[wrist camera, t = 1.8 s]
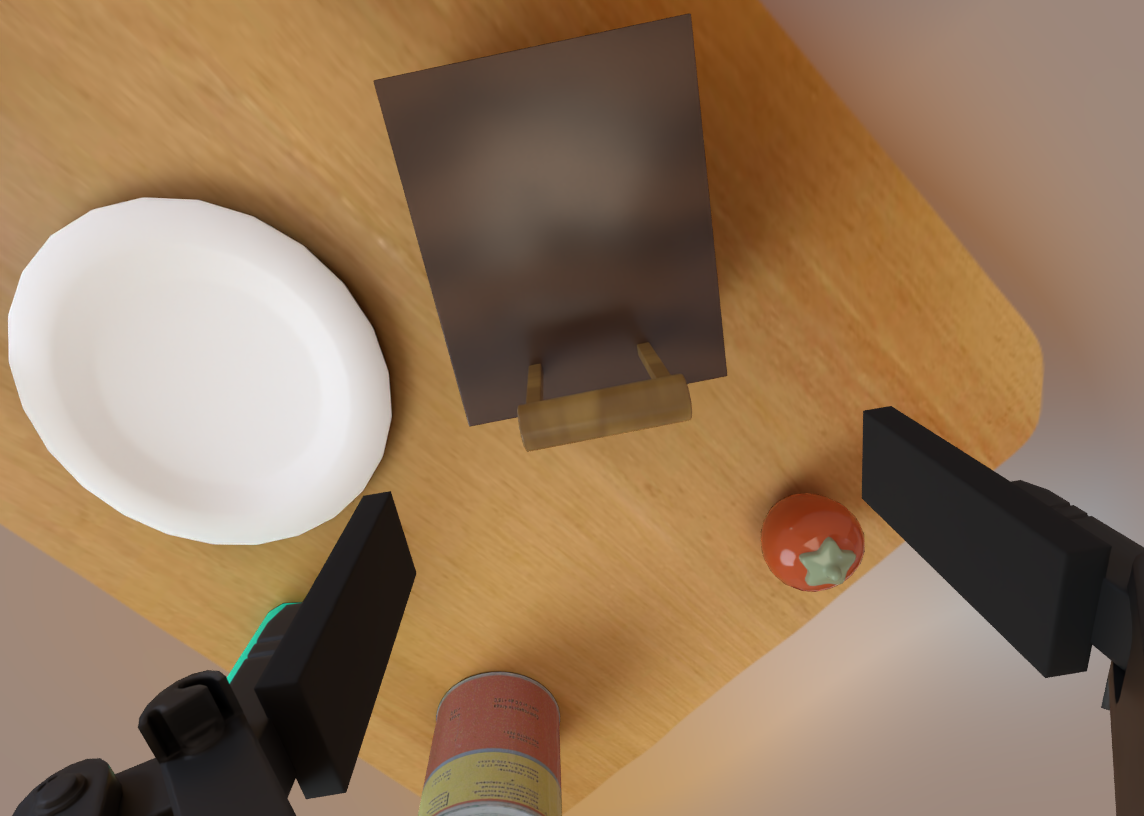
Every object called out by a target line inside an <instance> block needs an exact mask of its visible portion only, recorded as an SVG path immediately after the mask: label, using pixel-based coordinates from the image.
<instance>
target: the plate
mask: <svg viewBox="0 0 1144 816" xmlns="http://www.w3.org/2000/svg"><path fill="white" fill-rule="evenodd" d="M8 340H9V365H10V368H11V371H12V374H13V378H14V381H15V384H16V387H17V391H18V394H19V397H20V400H21V404H22V407H23V409H24V411H25V413H26V414H27V416H28V417H29V419H30V421H31V422H32V424H33V426H34V427H35V429H36V431H37V432H38V434H39V436H40V437H41V439H42V441H43V442H44V444H45V446H46V447H47V449H48V451H49V452H50V453H51V454H52V455H53V456H54V457H55V458H56V459H57V460H58V461H59V462H60V463H61V464H62V465H63V466H64V467H65V468H66V469H67V470H68V471H69V473H70V474H71V475H72V476H73V477H74V478H75V479H76V480H77V481H78V482H79V483H80V484H81V485H82V486H83V487H84V488H86V489H87V490H89V491H90V492H91V493H93V494H94V495H96V496H97V497H99V498H100V499H101V500H103V501H104V502H106V503H107V504H109V505H110V506H112V507H113V508H114V509H116V510H117V511H119V512H120V513H122V514H123V515H125V516H127V517H130V518H132V519H134V520H136V521H139V522H141V523H143V524H146V525H148V526H150V527H152V528H155V529H157V530H159V531H161V532H164V533H166V534H169V535H173V536H178V537H183V538H187V539H192V540H196V541H201V542H205V543H210V544H238V545H258V544H263V543H267V542H272V541H276V540H281V539H286V538H290V537H295V536H299V535H301V534H303V533H305V532H307V531H309V530H311V529H313V528H315V527H317V526H319V525H320V524H322V523H324V522H326V521H328V520H330V519H332V518H334V517H335V516H336V515H338V514H339V513H340V512H341V511H342V510H343V509H344V508H345V507H346V506H347V505H348V504H349V503H351V502H352V501H353V500H354V499H355V498H356V497H357V496H358V495H359V494H360V493H361V492H362V491H363V490H364V488H365V487H366V485H367V483H368V481H369V480H370V478H371V476H372V475H373V473H374V471H375V469H376V468H377V466H378V464H379V462H380V461H381V459H382V457H383V455H384V450H385V446H386V441H387V437H388V432H389V428H390V423H391V419H392V405H391V391H390V376H389V370H388V367H387V364H386V361H385V359H384V356H383V353H382V350H381V347H380V344H379V341H378V339H377V336H376V333H375V330H374V327H373V325H372V324H371V322H370V321H369V319H368V318H367V316H366V315H365V313H364V312H363V310H362V309H361V307H360V306H359V304H358V303H357V301H356V300H355V298H354V297H353V295H352V294H351V292H350V291H349V289H348V288H347V286H346V285H345V283H344V282H343V281H342V280H341V279H339V278H338V277H337V276H336V275H335V274H334V273H333V272H332V271H331V270H330V269H329V268H328V267H327V266H326V265H325V264H324V263H322V262H321V261H320V260H319V259H318V258H317V257H316V256H315V255H314V254H313V253H312V252H311V251H310V250H309V249H308V248H306V247H305V246H304V245H303V244H301V243H299V242H298V241H296V240H294V239H292V238H291V237H289V236H287V235H286V234H284V233H282V232H280V231H279V230H277V229H275V228H274V227H272V226H270V225H268V224H267V223H265V222H263V221H262V220H260V219H258V218H256V217H255V216H251V215H248V214H245V213H241V212H238V211H235V210H232V209H228V208H225V207H222V206H218V205H215V204H212V203H208V202H205V201H202V200H192V199H168V198H145V197H142V198H138V199H134V200H130V201H126V202H122V203H118V204H114V205H110V206H105V207H101V208H97V209H93V210H91V211H89V212H88V213H86V214H85V215H83V216H81V217H80V218H78V219H77V220H75V221H73V222H72V223H70V224H69V225H67V226H65V227H64V228H62V229H61V230H59V231H57V232H56V233H54V234H52V235H51V236H50V237H49V239H48V240H47V241H46V242H45V244H44V245H43V246H42V247H41V249H40V250H39V251H38V253H37V254H36V255H35V256H34V258H33V259H32V260H31V262H30V263H29V264H28V265H27V267H26V268H25V269H24V270H23V272H22V274H21V277H20V281H19V284H18V287H17V290H16V293H15V296H14V299H13V302H12V305H11V308H10V312H9V315H8Z"/></svg>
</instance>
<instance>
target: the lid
mask: <svg viewBox="0 0 1144 816" xmlns="http://www.w3.org/2000/svg"><path fill="white" fill-rule="evenodd" d="M374 85H375V89H376V92H377V96H378V99H379V103H380V107H381V110H382V114H383V118H384V121H385V125H386V128H387V132H388V136H389V139H390V143H391V146H392V150H393V154H394V157H395V161H396V164H397V168H398V172H399V175H400V179H401V182H402V186H403V190H404V193H405V197H406V200H407V204H408V208H409V211H410V215H411V218H412V222H413V226H414V229H415V233H416V236H417V240H418V244H419V247H420V251H421V254H422V258H423V262H424V265H425V269H426V272H427V276H428V280H429V283H430V287H431V291H432V294H433V298H434V301H435V305H436V309H437V312H438V316H439V319H440V323H441V327H442V330H443V334H444V337H445V341H446V345H447V348H448V352H449V355H450V359H451V363H452V366H453V370H454V373H455V377H456V381H457V384H458V388H459V391H460V395H461V399H462V402H463V406H464V409H465V413H466V417H467V420H468V424H469V426H475V425H480V424H485V423H490V422H495V421H500V420H505V419H510V418H516V417H518V422H519V427H520V433H521V437H522V441H523V444H524V447H525V449H526V451H527V452H529V451H535V450H540V449H545V448H550V447H555V446H560V445H565V444H571V443H576V442H581V441H586V440H591V439H596V438H601V437H606V436H612V435H617V434H622V433H627V432H632V431H637V430H642V429H648V428H653V427H658V426H663V425H668V424H673V423H678V422H684V421H689V420H691V418H692V406H691V399H690V394H689V390H688V386H687V384H689V383H694V382H699V381H704V380H709V379H714V378H719V377H724V376H727V368H726V358H725V348H724V338H723V328H722V318H721V308H720V298H719V288H718V279H717V269H716V259H715V249H714V239H713V229H712V219H711V209H710V199H709V189H708V179H707V169H706V160H705V150H704V140H703V130H702V120H701V110H700V100H699V90H698V80H697V70H696V60H695V50H694V41H693V31H692V21H691V14H690V13H689V14H685V15H680V16H675V17H670V18H666V19H661V20H656V21H652V22H647V23H642V24H637V25H633V26H628V27H623V28H618V29H614V30H609V31H604V32H600V33H595V34H590V35H585V36H581V37H576V38H571V39H567V40H562V41H557V42H552V43H548V44H543V45H538V46H534V47H529V48H524V49H519V50H515V51H510V52H505V53H501V54H496V55H491V56H486V57H482V58H477V59H472V60H467V61H463V62H458V63H453V64H449V65H444V66H439V67H434V68H430V69H425V70H420V71H416V72H411V73H406V74H401V75H397V76H392V77H387V78H383V79H378V80H374Z"/></svg>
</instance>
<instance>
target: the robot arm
mask: <svg viewBox="0 0 1144 816" xmlns="http://www.w3.org/2000/svg"><path fill="white" fill-rule="evenodd" d="M862 499H863V500H864V501H865V502H866V503H867V504H868V505H869V506H870V507H871V508H872V509H873V510H874V511H875V512H876V513H877V514H878V515H879V516H881V517H882V518H883V519H884V520H885V521H886V522H887V523H888V524H889V525H890V526H891V527H892V528H893V529H894V530H895V531H896V532H897V533H898V534H899V535H900V536H901V537H902V538H903V539H904V540H905V541H906V542H907V543H908V544H909V545H910V546H911V547H912V548H913V549H914V550H915V551H916V552H918V554H919V555H920V556H921V557H922V558H924V560H926V562H928V563H929V564H930V565H931V566H932V567H933V568H934V569H935V570H936V571H937V572H938V573H939V574H940V575H941V576H942V577H943V578H944V579H945V580H946V581H947V582H948V583H949V584H950V585H951V586H952V587H953V588H954V589H955V590H956V591H957V592H958V593H959V594H960V595H961V596H962V597H963V598H964V599H965V600H966V601H967V602H968V603H969V604H970V605H971V606H972V607H973V608H975V610H976V611H978V612H979V613H980V614H981V615H982V616H983V617H984V618H985V619H986V620H987V621H988V622H989V623H990V624H991V625H992V626H993V627H994V628H995V629H996V630H997V631H998V632H999V633H1000V634H1001V635H1002V636H1003V637H1004V638H1005V639H1006V640H1007V641H1008V642H1009V643H1010V644H1011V645H1012V646H1013V647H1014V648H1015V649H1016V650H1017V651H1018V652H1019V653H1020V654H1022V656H1023V657H1024V658H1025V659H1027V660H1028V661H1029V662H1030V663H1031V664H1032V665H1033V666H1034V667H1035V668H1036V669H1037V670H1038V671H1039V672H1040V673H1041V674H1042V675H1043V676H1044V677H1045V678H1048V677H1054V676H1060V675H1066V674H1073V673H1079V672H1084V671H1087V668H1088V663H1089V658H1090V652H1091V648H1092V645H1094V646H1095V647H1096V648H1097V649H1098V650H1100V651H1101V652H1102V653H1103V654H1104V655H1106V656H1107V657H1108V658H1109V659H1110V660H1111V665H1110V670H1109V674H1108V679H1107V683H1106V688H1105V692H1104V697H1103V702H1102V706H1101V708H1104V709H1107V710H1110V715H1111V733H1112V749H1113V766H1114V783H1115V800H1116V816H1144V547H1142V546H1141V545H1139V544H1137V543H1135V542H1134V541H1132V540H1131V539H1129V538H1127V537H1126V536H1124V535H1122V534H1121V533H1119V532H1117V531H1115V530H1114V529H1112V528H1110V527H1109V526H1107V525H1106V524H1104V523H1102V522H1101V521H1099V520H1097V519H1096V518H1094V517H1092V516H1088V515H1087V513H1086V512H1084V511H1082V510H1081V509H1079V508H1078V507H1076V506H1074V505H1072V506H1070V503H1069V502H1067V501H1066V500H1064V499H1063V498H1061V497H1059V496H1057V495H1056V494H1054V493H1053V492H1051V491H1049V490H1047V489H1044V488H1041V487H1039V486H1036V485H1033V484H1030V483H1027V482H1024V481H1021V480H1018V481H1012V482H1010V481H1008V480H1007V479H1005V478H1004V477H1002V476H1001V475H999V474H998V473H996V472H994V471H993V470H991V469H990V468H988V467H986V466H985V465H983V464H982V463H980V462H979V461H977V460H975V459H974V458H972V457H971V456H969V455H968V454H966V453H964V452H963V451H961V450H960V449H958V448H957V447H955V446H953V445H952V444H950V443H949V442H947V441H945V440H944V439H942V438H941V437H939V436H938V435H936V434H934V433H933V432H931V431H930V430H928V429H927V428H925V427H923V426H922V425H920V424H919V423H917V422H916V421H914V420H912V419H911V418H909V417H908V416H906V415H904V414H903V413H901V412H900V411H898V410H897V409H895V408H893V407H892V406H889V407H883V408H877V409H871V410H865V411H863V459H862ZM415 576H416V570H415V567H414V564H413V561H412V557H411V554H410V551H409V548H408V545H407V541H406V538H405V535H404V532H403V529H402V526H401V522H400V519H399V516H398V513H397V510H396V506H395V503H394V500H393V497H392V494H391V491H389V492H383V493H378V494H372V495H366V496H363V498H362V499H361V501H360V503H359V505H358V506H357V508H356V510H355V512H354V513H353V515H352V517H351V519H350V520H349V522H348V524H347V526H346V527H345V529H344V531H343V533H342V534H341V536H340V538H339V540H338V541H337V543H336V545H335V547H334V548H333V550H332V552H331V554H330V556H329V557H328V559H327V561H326V563H325V564H324V566H323V568H322V570H321V571H320V573H319V575H318V577H317V578H316V580H315V582H314V584H313V585H312V587H311V589H310V591H309V592H308V594H307V596H306V598H305V599H304V601H303V602H302V603H296V604H290V605H286V606H285V607H284V608H283V609H282V610H281V611H280V612H279V613H278V614H276V615H275V616H274V617H273V618H272V619H271V620H270V621H269V622H268V623H267V625H266V626H265V628H264V629H263V631H262V633H261V634H260V636H259V637H258V639H257V644H254V645H253V647H252V649H251V650H250V652H249V653H248V655H247V656H248V658H247V659H245V660H244V661H243V663H242V665H241V666H240V668H239V669H238V671H237V673H236V674H235V676H234V678H233V679H232V681H231V682H230V684H229V682H228V680H227V678H226V676H225V675H223V674H222V673H221V672H220V671H211V670H207V671H203V672H198V673H194V674H191V675H189V676H188V677H185V678H183V679H181V680H178V681H176V682H175V683H173V684H172V685H170V686H169V687H167V688H166V689H164V690H163V691H162V692H160V693H159V694H158V695H157V696H156V697H155V698H154V699H153V700H152V701H151V702H150V703H149V704H148V705H147V706H146V708H145V709H144V711H143V713H142V714H141V716H140V718H139V725H138V728H139V730H140V732H141V733H142V735H143V737H144V739H145V740H146V742H147V744H148V746H149V747H150V749H151V751H152V752H153V754H154V756H155V757H156V758H154V759H151V760H149V761H147V762H144V763H142V764H139V765H137V766H134V767H132V768H129V769H127V770H125V771H122V772H120V773H117V774H114V772H113V771H112V769H111V767H110V766H109V764H108V763H107V762H105V761H104V760H102V759H100V758H99V759H86V760H83V761H80V762H77V763H75V764H71V765H69V766H68V767H66V768H64V769H62V770H60V771H58V772H57V773H55V774H53V775H51V776H50V777H49V778H47V779H46V780H45V781H44V782H42V783H41V784H39V785H38V786H37V787H36V788H34V789H33V790H32V791H31V792H30V793H29V795H28V796H27V797H26V798H25V799H24V800H23V801H22V802H21V803H20V804H19V805H18V807H17V808H16V810H15V812H14V814H13V815H12V816H296V814H295V813H294V810H293V808H292V806H291V805H290V803H289V801H288V799H287V798H288V795H289V793H290V790H291V788H292V786H293V783H294V781H295V778H296V779H297V781H298V783H299V785H300V788H301V790H302V792H303V794H304V796H305V798H306V799H310V798H316V797H322V796H328V795H334V794H340V793H346V791H347V788H348V785H349V782H350V779H351V776H352V773H353V770H354V767H355V763H356V760H357V757H358V754H359V751H360V748H361V745H362V742H363V739H364V735H365V732H366V729H367V726H368V723H369V720H370V717H371V714H372V710H373V707H374V704H375V701H376V698H377V695H378V692H379V689H380V685H381V682H382V679H383V676H384V673H385V670H386V667H387V664H388V660H389V657H390V654H391V651H392V648H393V645H394V642H395V639H396V635H397V632H398V629H399V626H400V623H401V620H402V617H403V614H404V611H405V607H406V604H407V601H408V598H409V595H410V592H411V589H412V586H413V582H414V579H415Z"/></svg>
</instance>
